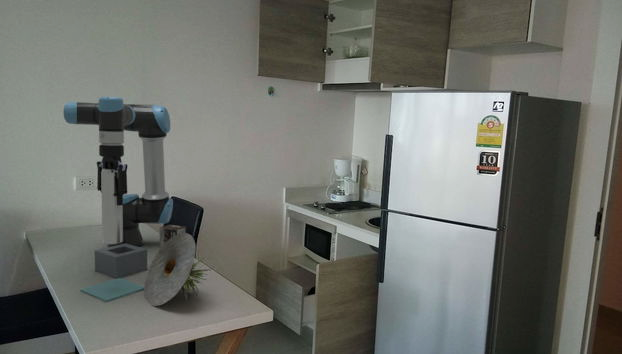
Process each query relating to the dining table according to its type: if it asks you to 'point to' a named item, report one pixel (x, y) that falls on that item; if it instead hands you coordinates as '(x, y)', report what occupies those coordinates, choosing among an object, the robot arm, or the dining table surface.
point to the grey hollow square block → (120, 260)
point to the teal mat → (112, 289)
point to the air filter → (110, 210)
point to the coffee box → (170, 232)
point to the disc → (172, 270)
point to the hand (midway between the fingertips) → (112, 213)
